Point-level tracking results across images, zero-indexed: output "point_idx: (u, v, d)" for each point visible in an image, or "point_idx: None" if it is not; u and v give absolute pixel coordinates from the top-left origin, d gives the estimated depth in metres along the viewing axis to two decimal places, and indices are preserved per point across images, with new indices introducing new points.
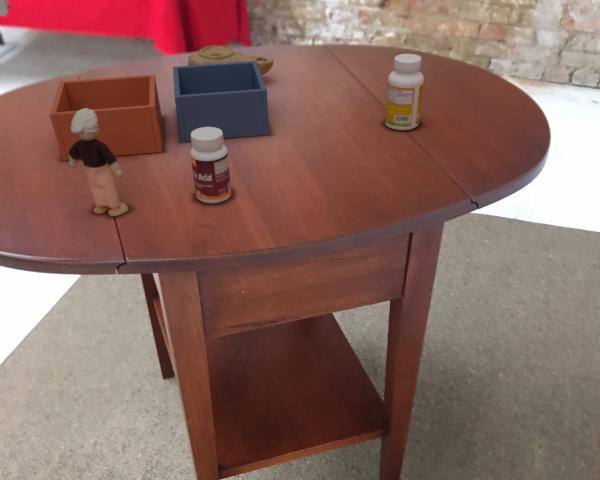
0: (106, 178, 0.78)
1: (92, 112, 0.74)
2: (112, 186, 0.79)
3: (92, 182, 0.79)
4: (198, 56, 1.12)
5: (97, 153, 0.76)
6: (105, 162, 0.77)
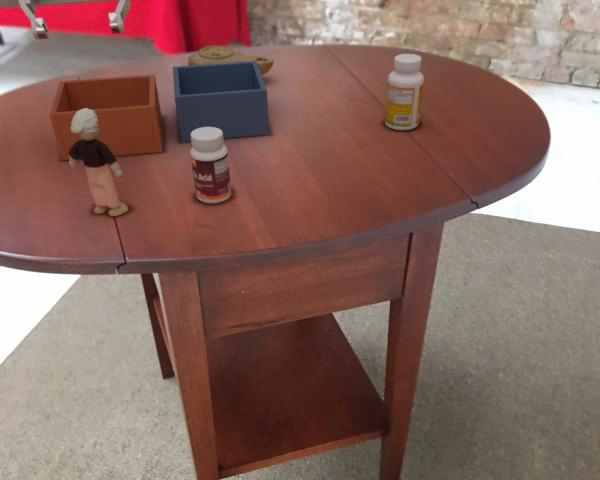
0: (106, 178, 0.78)
1: (92, 112, 0.74)
2: (112, 186, 0.79)
3: (92, 182, 0.79)
4: (198, 56, 1.12)
5: (97, 153, 0.76)
6: (105, 162, 0.77)
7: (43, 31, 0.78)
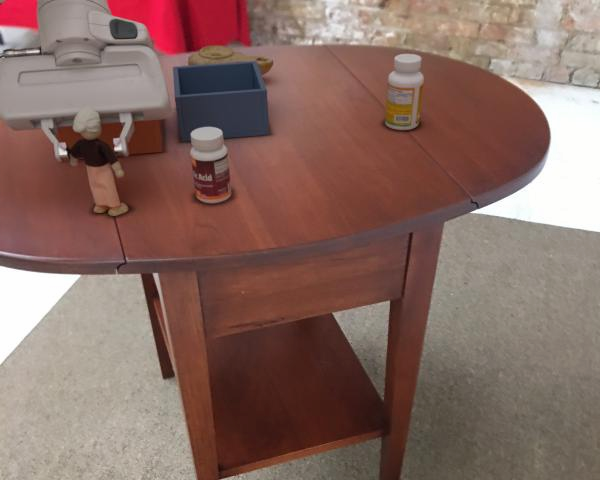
0: (107, 178, 0.78)
1: (95, 111, 0.74)
2: (113, 186, 0.79)
3: (93, 181, 0.79)
4: (198, 56, 1.12)
5: (98, 152, 0.76)
6: (106, 162, 0.77)
7: (66, 155, 0.76)
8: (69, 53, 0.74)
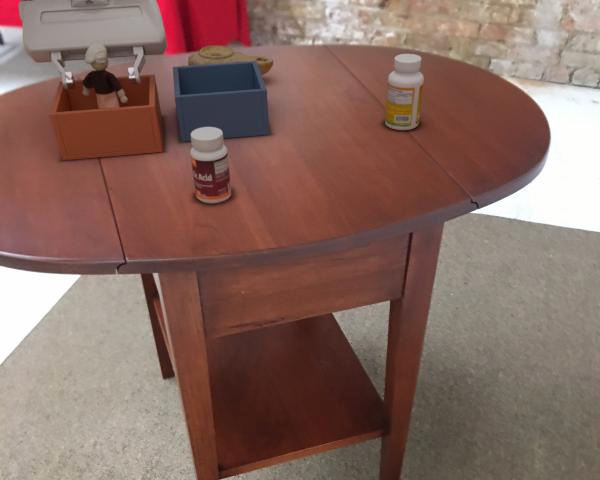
0: (114, 104, 0.94)
1: (102, 46, 0.90)
2: None
3: (102, 108, 0.95)
4: (198, 56, 1.12)
5: (106, 81, 0.92)
6: (113, 90, 0.93)
7: (72, 83, 0.91)
8: None
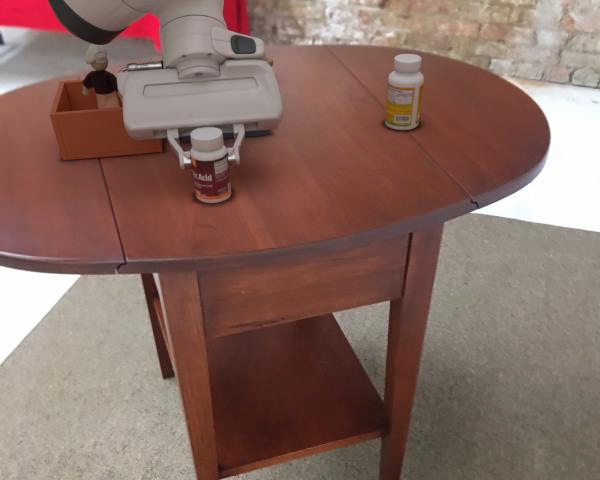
0: (114, 104, 0.94)
1: (102, 46, 0.90)
2: None
3: (102, 108, 0.95)
4: None
5: (106, 81, 0.92)
6: (113, 90, 0.93)
7: (190, 164, 0.80)
8: (192, 67, 0.78)
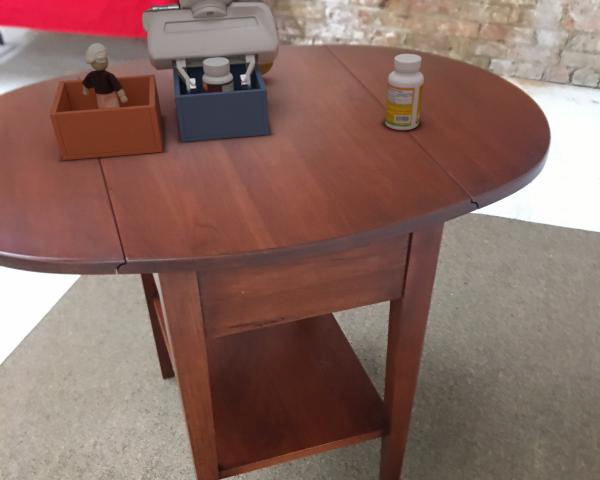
0: (114, 104, 0.94)
1: (102, 46, 0.90)
2: None
3: (102, 108, 0.95)
4: None
5: (106, 81, 0.92)
6: (113, 90, 0.93)
7: (195, 88, 0.98)
8: (204, 7, 0.95)
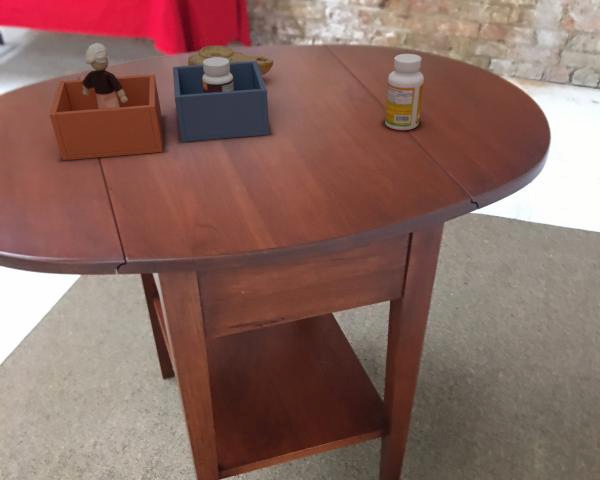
0: (114, 104, 0.94)
1: (102, 46, 0.90)
2: None
3: (102, 108, 0.95)
4: (198, 56, 1.12)
5: (106, 81, 0.92)
6: (113, 90, 0.93)
7: None
8: None
